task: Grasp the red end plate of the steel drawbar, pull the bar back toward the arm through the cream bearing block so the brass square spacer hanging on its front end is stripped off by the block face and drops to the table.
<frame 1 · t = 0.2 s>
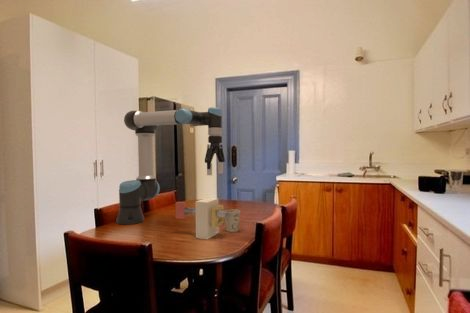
hand: (215, 174, 162), 28 cm above the table, fingers open, 13 cm apart
bearing block: (207, 235, 141), on the table
spacer: (217, 225, 139), point 5 cm above the table, touching shaft
mug: (230, 229, 152), on the table
shaft: (200, 211, 143), point 11 cm above the table, slide at 0.0 cm, touching spacer
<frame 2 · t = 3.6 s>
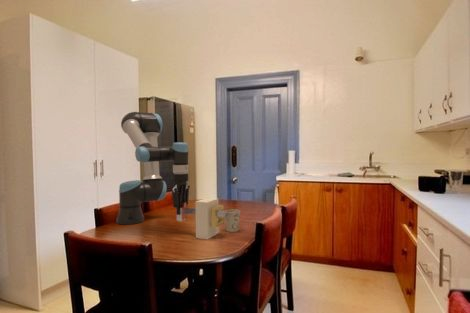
hand: (181, 220, 147), 6 cm above the table, fingers closed on shaft, 2 cm apart
shaft: (200, 211, 143), point 11 cm above the table, slide at 0.0 cm, touching gripper, spacer
everything else where it was.
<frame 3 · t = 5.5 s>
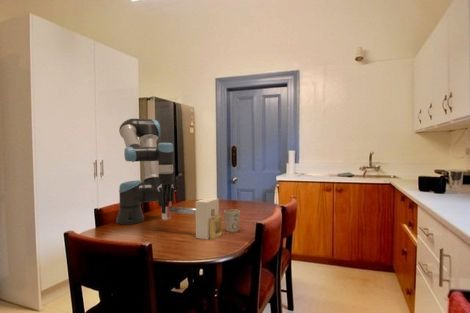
hand: (166, 218, 151), 6 cm above the table, fingers closed on shaft, 2 cm apart
spacer: (216, 236, 140), on the table
shaft: (184, 210, 146), point 11 cm above the table, slide at 8.8 cm, touching gripper
everything else where it was.
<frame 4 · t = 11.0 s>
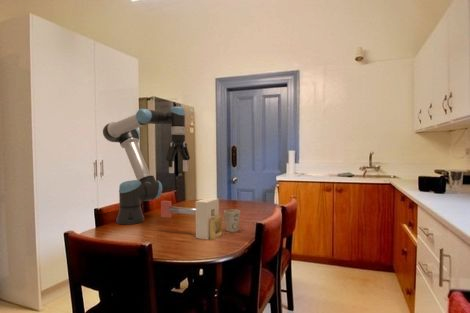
hand: (178, 172, 166), 29 cm above the table, fingers open, 13 cm apart
shaft: (184, 210, 146), point 11 cm above the table, slide at 8.9 cm
everything else where it was.
at the end: shaft slide at 8.9 cm; spacer on the table; spacer touching table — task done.
